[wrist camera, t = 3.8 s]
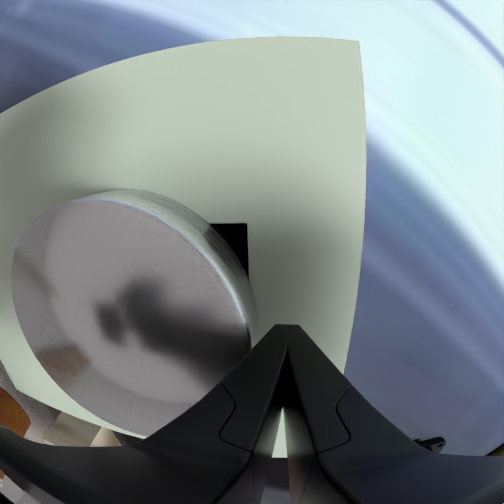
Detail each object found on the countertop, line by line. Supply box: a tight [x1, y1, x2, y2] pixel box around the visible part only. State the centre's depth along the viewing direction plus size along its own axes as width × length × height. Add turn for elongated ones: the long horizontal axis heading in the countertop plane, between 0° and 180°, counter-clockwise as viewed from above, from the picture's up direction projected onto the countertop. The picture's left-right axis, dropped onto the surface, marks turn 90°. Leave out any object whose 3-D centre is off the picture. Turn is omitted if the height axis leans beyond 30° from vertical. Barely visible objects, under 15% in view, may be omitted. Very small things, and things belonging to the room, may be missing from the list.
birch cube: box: [42, 412, 121, 447], centre depth 17 cm, size 4×4×4 cm
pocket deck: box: [0, 37, 366, 458], centre depth 12 cm, size 18×22×3 cm
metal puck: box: [11, 189, 258, 437], centre depth 9 cm, size 9×9×2 cm
